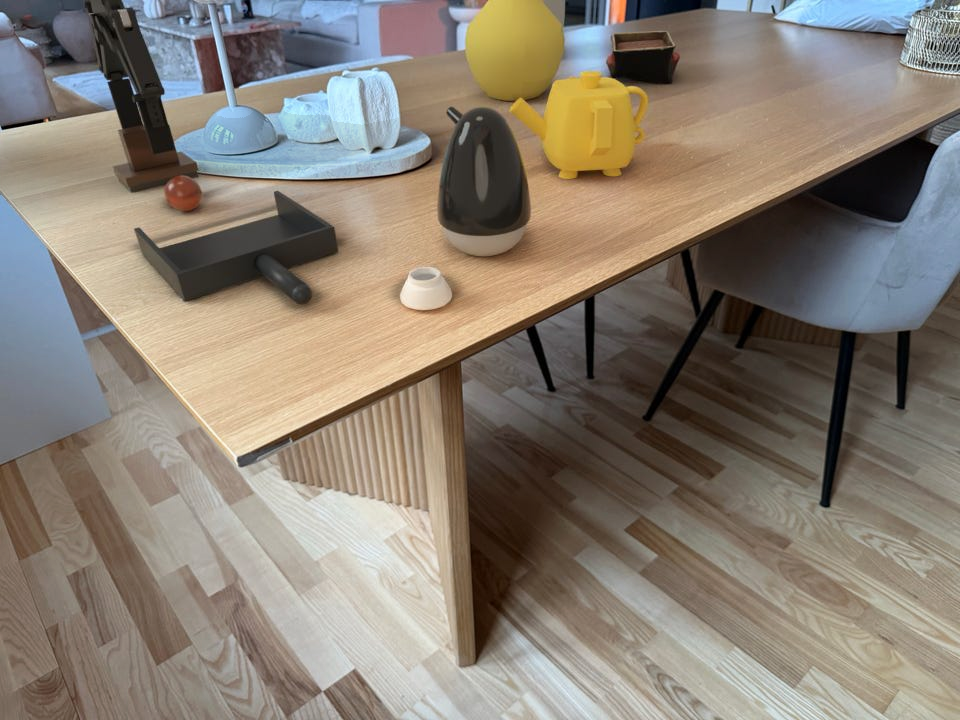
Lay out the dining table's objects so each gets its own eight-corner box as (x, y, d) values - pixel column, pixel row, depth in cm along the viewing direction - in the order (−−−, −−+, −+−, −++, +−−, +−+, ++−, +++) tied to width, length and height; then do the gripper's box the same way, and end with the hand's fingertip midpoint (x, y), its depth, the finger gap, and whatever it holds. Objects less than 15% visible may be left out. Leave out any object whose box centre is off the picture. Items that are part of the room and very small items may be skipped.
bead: (165, 209, 90) (155, 176, 88) (198, 200, 93) (190, 168, 90) (176, 219, 88) (166, 185, 85) (210, 210, 90) (202, 176, 87)
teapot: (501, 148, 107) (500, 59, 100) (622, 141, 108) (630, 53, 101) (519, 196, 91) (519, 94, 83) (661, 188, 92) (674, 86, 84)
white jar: (404, 316, 66) (456, 309, 67) (401, 289, 65) (454, 282, 65) (398, 292, 70) (447, 285, 71) (395, 265, 69) (445, 259, 69)
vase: (509, 113, 123) (508, -88, 106) (447, 94, 135) (437, -89, 118) (582, 94, 132) (592, -93, 115) (518, 78, 144) (519, -93, 127)
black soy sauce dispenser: (487, 220, 85) (484, 89, 76) (549, 246, 78) (553, 106, 69) (420, 245, 79) (409, 107, 71) (480, 276, 73) (476, 128, 64)
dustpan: (142, 254, 79) (133, 228, 77) (282, 214, 88) (277, 190, 86) (222, 345, 63) (214, 314, 61) (385, 285, 72) (382, 257, 70)
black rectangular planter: (600, 95, 139) (607, 43, 132) (607, 61, 152) (614, 12, 145) (673, 102, 137) (684, 50, 130) (674, 67, 150) (684, 18, 143)
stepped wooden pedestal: (119, 188, 97) (100, 129, 92) (187, 173, 102) (171, 115, 97) (133, 201, 93) (113, 140, 88) (202, 184, 98) (186, 125, 93)
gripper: (158, -40, 75) (208, 155, 87) (99, -49, 92) (148, 115, 104) (84, -34, 72) (147, 169, 84) (37, -45, 88) (95, 126, 100)
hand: (148, 140), depth 94 cm, fingers open, 13 cm apart
